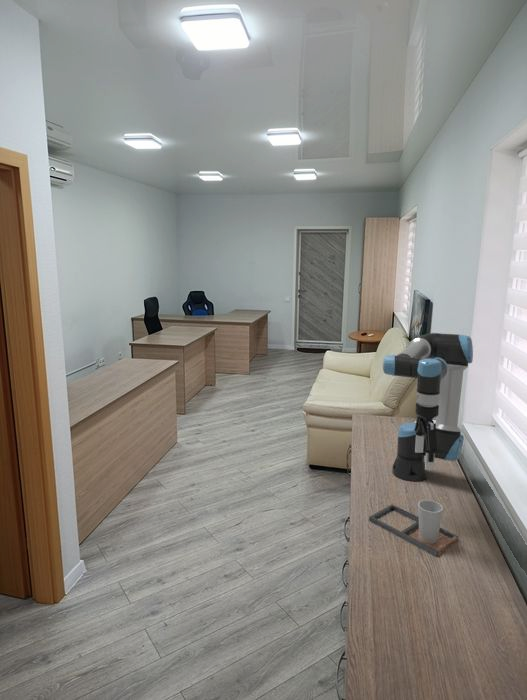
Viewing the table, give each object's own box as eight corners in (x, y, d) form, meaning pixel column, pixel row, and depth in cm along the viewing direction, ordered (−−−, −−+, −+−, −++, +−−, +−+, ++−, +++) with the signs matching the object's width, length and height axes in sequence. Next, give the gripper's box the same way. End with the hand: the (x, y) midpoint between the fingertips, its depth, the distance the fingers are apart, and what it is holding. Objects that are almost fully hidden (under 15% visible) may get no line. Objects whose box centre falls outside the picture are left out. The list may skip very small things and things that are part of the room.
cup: (442, 546, 150) (445, 513, 148) (417, 543, 151) (420, 511, 149) (438, 532, 158) (440, 501, 155) (414, 529, 159) (416, 498, 157)
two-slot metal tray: (368, 520, 165) (369, 516, 165) (391, 507, 174) (391, 504, 174) (436, 556, 145) (436, 552, 145) (458, 540, 153) (458, 536, 153)
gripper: (407, 392, 167) (405, 445, 171) (426, 416, 143) (422, 477, 147) (428, 392, 166) (425, 445, 171) (450, 416, 142) (445, 477, 146)
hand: (423, 460), depth 159 cm, fingers open, 13 cm apart
